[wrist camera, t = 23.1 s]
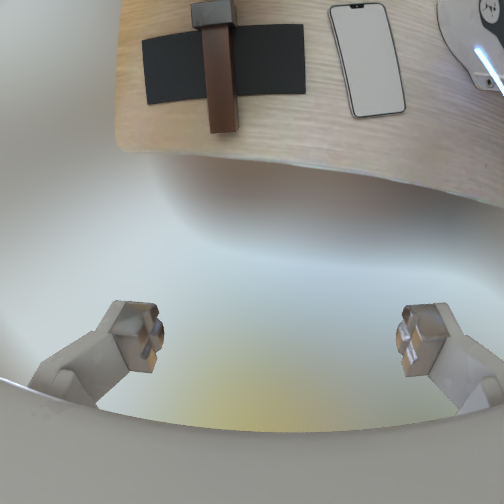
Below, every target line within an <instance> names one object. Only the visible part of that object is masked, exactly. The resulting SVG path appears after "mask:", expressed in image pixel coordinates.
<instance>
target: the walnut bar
mask: <svg viewBox="0 0 504 504" xmlns="http://www.w3.org/2000/svg"><path fill="white" fill-rule="evenodd" d="M191 17H192V27H193V28H195V29H197V30H199V31H201V32H202V42H203V55H204V67H205V79H206V90H207V101H208V112H209V122H210V133H211V134H212V133H226V132H236V131H237V130H238V128H239V120H238V107H237V94H236V80H235V67H234V53H233V39H232V28H237V13H236V6H235V5H234V3H233V2H232V0H215V1H207V2H201V3H194V4H191Z"/></svg>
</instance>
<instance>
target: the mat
mask: <svg viewBox="0 0 504 504" xmlns="http://www.w3.org/2000/svg"><path fill="white" fill-rule="evenodd" d="M232 39H233V53H234V67H235V80H236V94H237V95H248V94H286V93H298V94H305V93H306V88H305V57H304V34H303V24H273V25H249V26H237V28H232ZM142 51H143V64H144V75H145V86H146V95H147V104H148V105H149V104H155V103H162V102H170V101H178V100H186V99H195V98H205V97H207V90H206V79H205V67H204V55H203V42H202V32H201V31H199V30H198V31H191V32H185V33H178V34H173V35H167V36H162V37H157V38H152V39H147V40H142Z"/></svg>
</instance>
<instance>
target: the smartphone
mask: <svg viewBox="0 0 504 504" xmlns="http://www.w3.org/2000/svg"><path fill="white" fill-rule="evenodd" d="M328 14H329V18H330V21H331V25H332V29H333V33H334V36H335V40H336V44H337V48H338V52H339V56H340V60H341V64H342V69H343V73H344V78H345V82H346V87H347V92H348V97H349V102H350V107H351V112H352V114H353V116H355V117H356V118H359V119H361V118H369V117H377V116H385V115H394V114H402V113H404V112H405V110H406V101H405V94H404V88H403V82H402V77H401V71H400V66H399V61H398V56H397V52H396V47H395V43H394V38H393V34H392V30H391V26H390V22H389V18H388V15H387V11H386V8H385V6H384V5H383V4H382V3H379V2H367V3H351V4H339V5H333V6H331V7H330V8H329V9H328Z"/></svg>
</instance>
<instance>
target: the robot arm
mask: <svg viewBox="0 0 504 504" xmlns="http://www.w3.org/2000/svg"><path fill="white" fill-rule="evenodd" d="M437 13H438V21H439V26H440V29H441V32H442V35H443V37H444V39H445V41H446V43H447V45H448V47H449V48H450V50H451V51H452V53H453V54H454V55H455V56H456V58H457V59H458V60H459V61H460V62H461V63H462V64H463V65H464V66H465V67H466V68H467V70H468V71H469V73H470V76H471V78H472V80H473V82H474V84H475V86H476V87H477V88H478V89H480V90H495V91H502V93H503V95H504V0H439V1H438V8H437ZM488 80H489V84H488V83H487V81H488ZM158 314H159V311H158V308H157V305H155V304H154V303H143V302H132V301H118V300H116V301H114V302H112V304H111V305H110V307H109V309H108V310H107V312H106V314H105V315H104V317H103V319H102V320H101V322H100V324H99V325H98V327H97V329H96V330H95V331H91V332H89V333H87V334H86V335H84V336H82V337H81V338H79V339H78V340H76V341H75V342H73V343H71V344H70V345H68V346H67V347H65V348H63V349H62V350H60V351H59V352H57V353H55V354H54V355H52V356H51V357H49V358H47V359H46V360H44V361H43V362H41V364H40V366H39V367H38V369H37V371H36V372H35V374H34V376H33V377H32V379H31V381H30V383H29V384H28V386H27V387H24V386H22V385H19V384H16V383H14V382H11V381H8V380H6V379H3V378H1V377H0V504H504V361H503V360H501V359H500V358H499V357H497V356H496V355H494V354H493V353H492V352H490V351H489V350H488V349H486V348H485V347H484V346H482V345H481V344H479V343H478V342H477V341H475V340H474V339H472V338H471V337H470V336H468V335H463V333H462V330H461V329H460V327H459V325H458V323H457V321H456V319H455V317H454V315H453V313H452V311H451V309H450V308H449V306H448V304H446V303H433V304H421V305H406V306H405V308H404V309H403V312H402V316H403V319H404V320H403V321H402V322H401V323H400V324H399V325H398V329H397V332H396V344H397V349H398V352H399V353H401V354H402V355H403V359H402V361H401V362H402V366H403V369H404V372H405V376H406V377H413V376H423V375H428V377H429V378H430V379H431V380H432V381H433V382H434V383H435V384H436V385H437V386H438V387H439V389H440V390H441V391H442V392H443V393H444V394H445V395H446V396H447V397H448V398H449V399H450V400H451V401H452V402H453V404H454V405H455V406H456V407H457V408H458V409H459V411H458V412H457V413H456V415H455V416H452V417H447V418H442V419H437V420H432V421H426V422H420V423H413V424H407V425H400V426H392V427H384V428H374V429H364V430H351V431H336V432H306V433H282V432H281V433H279V432H252V431H235V430H221V429H212V428H202V427H194V426H186V425H178V424H172V423H165V422H159V421H153V420H147V419H142V418H136V417H132V416H126V415H122V414H117V413H112V412H109V411H104V410H100V409H99V408H98V407H97V405H96V404H95V403H96V402H97V401H98V400H99V399H100V398H101V397H103V396H104V395H105V393H107V392H108V391H109V390H110V389H111V388H113V387H114V386H115V385H116V384H117V383H118V382H119V381H120V380H121V379H122V378H124V377H125V376H126V375H127V374H128V373H129V371H135V372H144V373H152V371H153V369H154V366H155V364H156V361H157V356H156V352H157V351H159V350H160V349H161V348H162V345H163V341H164V327H163V324H162V322H161V321H160V320H159V319H158V318H157V316H158Z"/></svg>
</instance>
